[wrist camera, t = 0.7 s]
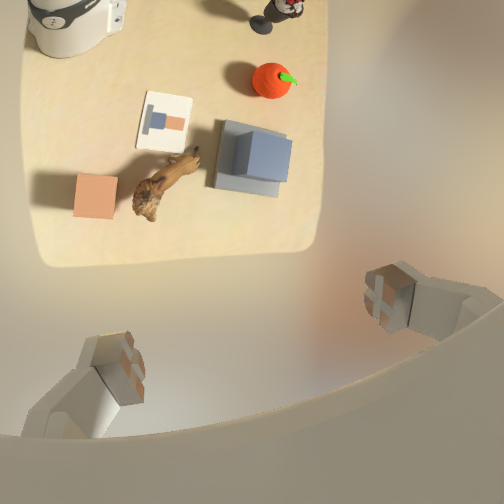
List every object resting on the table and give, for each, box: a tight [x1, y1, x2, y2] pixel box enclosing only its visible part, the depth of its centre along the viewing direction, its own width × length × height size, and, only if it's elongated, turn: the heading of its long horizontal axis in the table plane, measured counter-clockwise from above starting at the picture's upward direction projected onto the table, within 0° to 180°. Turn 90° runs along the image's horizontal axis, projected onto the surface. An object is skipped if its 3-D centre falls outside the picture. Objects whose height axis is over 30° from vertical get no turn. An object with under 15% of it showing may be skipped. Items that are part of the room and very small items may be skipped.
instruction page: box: [136, 91, 193, 154], centre depth 44 cm, size 10×8×1 cm
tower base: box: [213, 120, 292, 198], centre depth 49 cm, size 12×12×8 cm
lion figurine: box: [132, 146, 200, 222], centre depth 43 cm, size 15×5×9 cm, turn 134°
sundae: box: [250, 0, 305, 35], centre depth 40 cm, size 7×7×15 cm
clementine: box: [252, 63, 297, 99], centre depth 47 cm, size 8×7×7 cm
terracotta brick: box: [73, 174, 118, 219], centre depth 39 cm, size 6×6×9 cm
